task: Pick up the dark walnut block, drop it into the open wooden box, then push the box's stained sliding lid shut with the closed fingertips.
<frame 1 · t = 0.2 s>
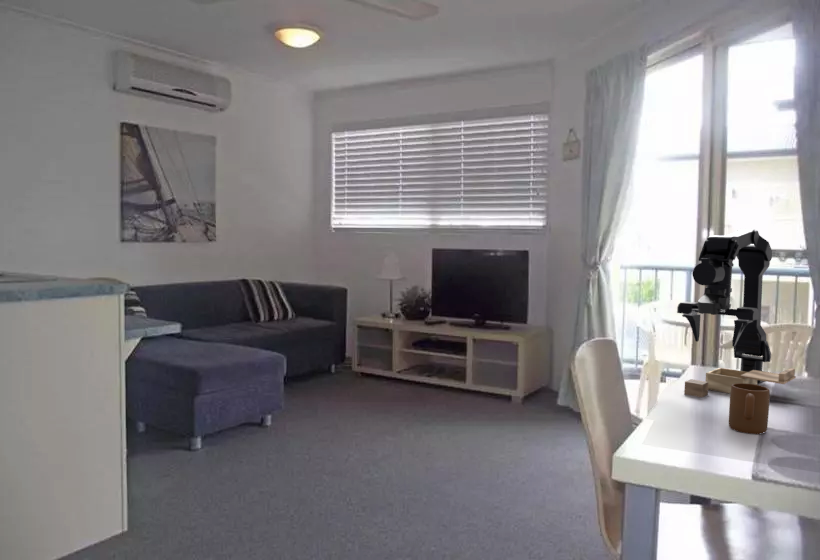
hand: (715, 343, 176), 14 cm above the table, fingers open, 9 cm apart
wooden box: (730, 389, 185), on the table
lid: (768, 373, 178), point 6 cm above the table, slide at 9.0 cm
block: (696, 394, 178), on the table
mug: (747, 433, 144), on the table
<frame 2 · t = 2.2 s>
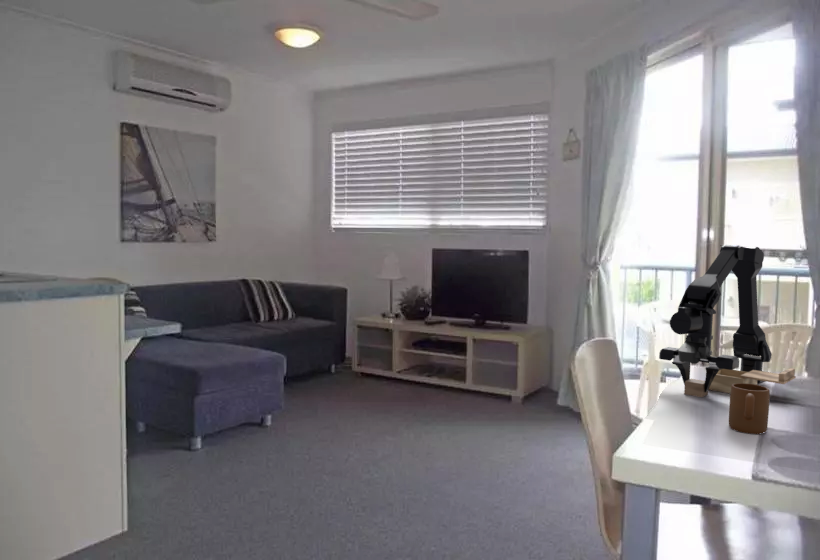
hand: (696, 390, 178), 1 cm above the table, fingers closed on block, 4 cm apart
block: (696, 394, 178), on the table, touching gripper
everything else where it was.
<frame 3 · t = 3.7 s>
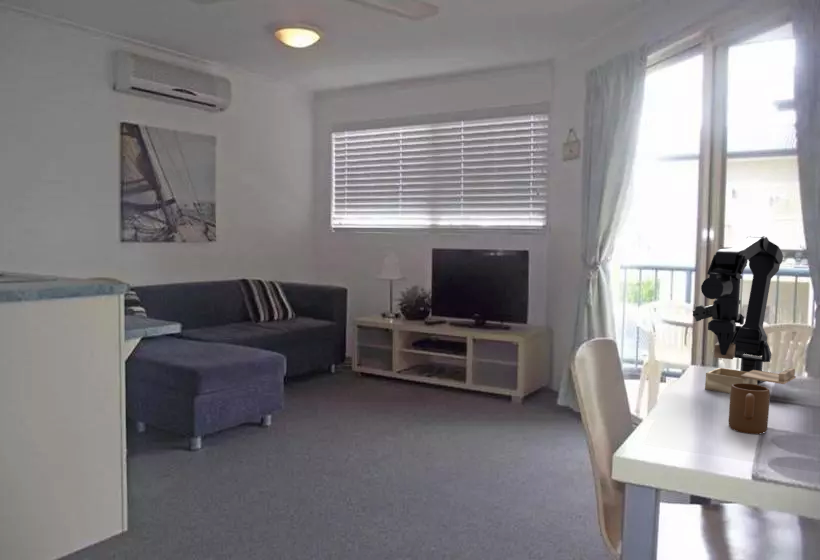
hand: (724, 353, 184), 10 cm above the table, fingers closed on block, 4 cm apart
block: (724, 357, 184), point 9 cm above the table, touching gripper
everything else where it was.
when the fingers open (5 cm above the table, at t = 5.2 s): block drops 3 cm, resting on wooden box.
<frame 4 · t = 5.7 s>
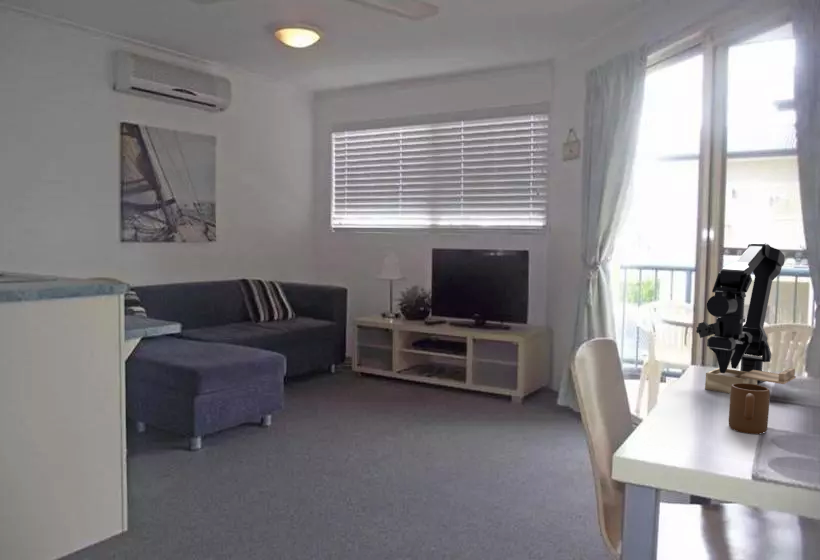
hand: (728, 370, 185), 5 cm above the table, fingers open, 9 cm apart
block: (727, 386, 186), resting on wooden box
everything else where it was.
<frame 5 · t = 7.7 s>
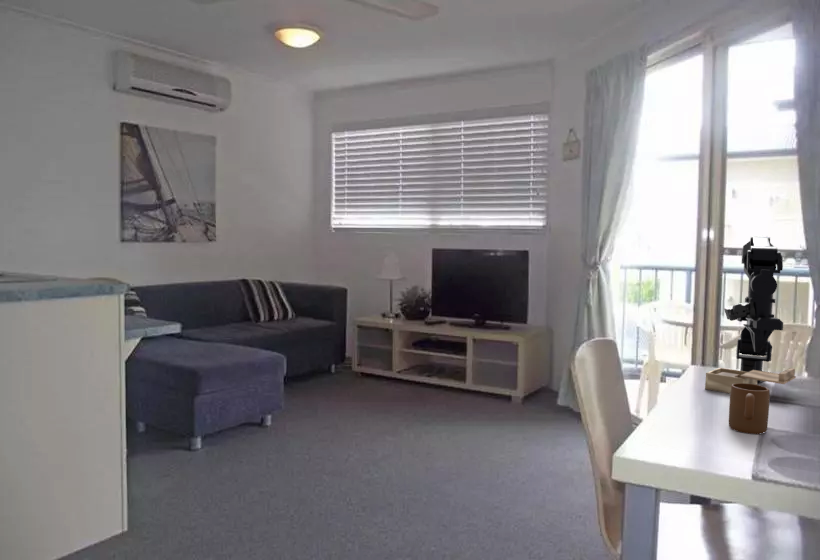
hand: (756, 352, 180), 11 cm above the table, fingers closed
nothing on the table moved.
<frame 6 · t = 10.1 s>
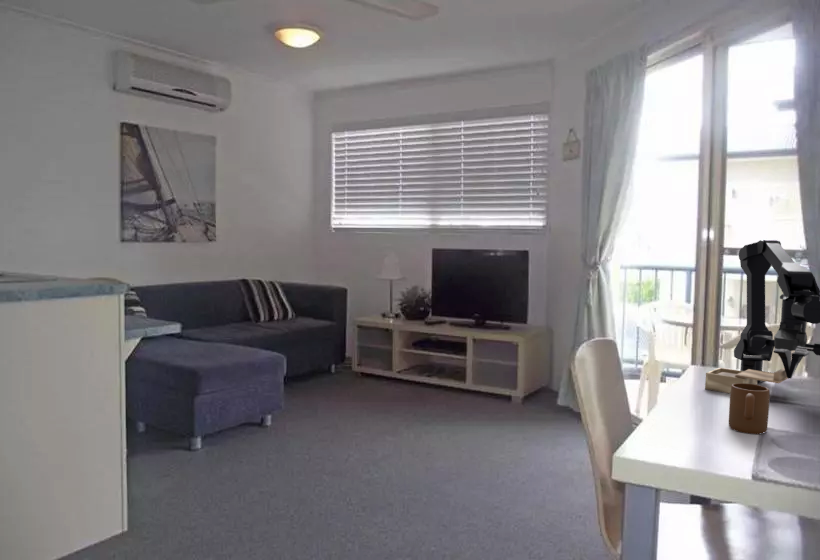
hand: (789, 378, 175), 6 cm above the table, fingers closed
lid: (763, 372, 179), point 6 cm above the table, slide at 7.8 cm, touching gripper
everything else where it was.
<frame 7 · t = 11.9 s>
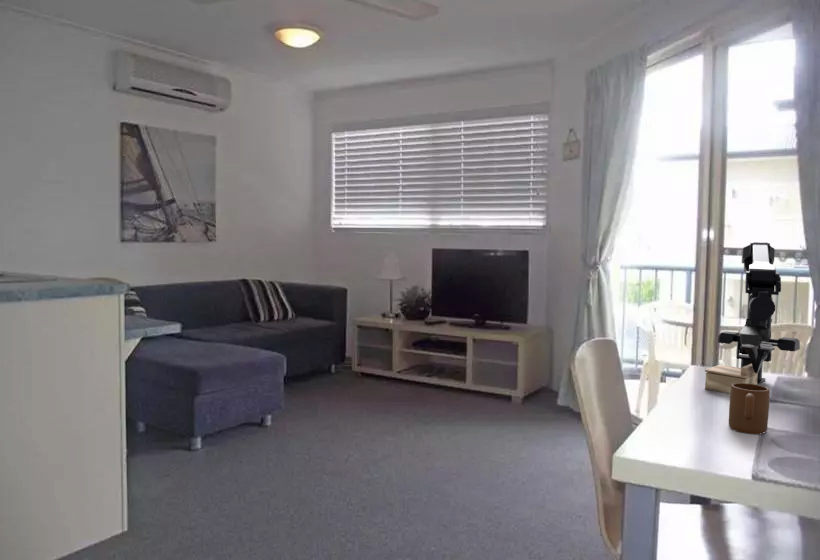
hand: (756, 372, 180), 6 cm above the table, fingers closed
lid: (732, 367, 184), point 6 cm above the table, slide at -0.1 cm, touching gripper
everything else where it was.
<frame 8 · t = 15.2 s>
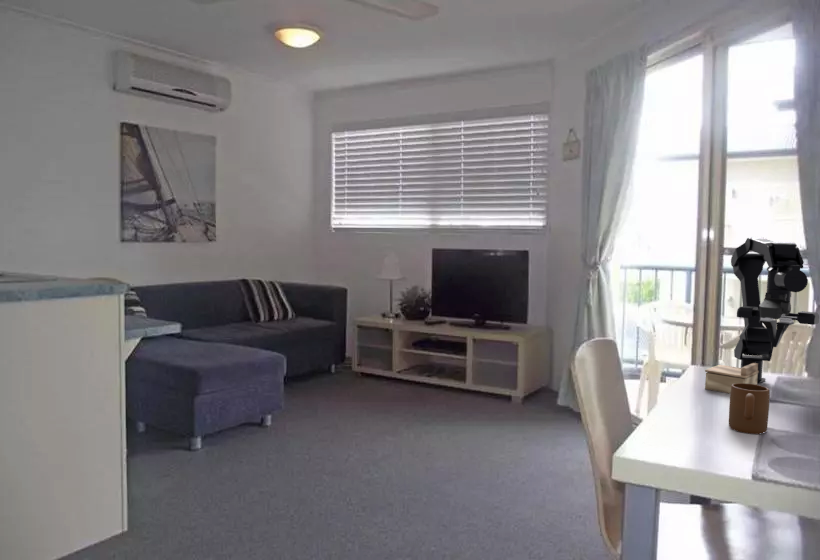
hand: (774, 347, 181), 13 cm above the table, fingers closed
lid: (732, 367, 184), point 6 cm above the table, slide at 0.0 cm
everything else where it was.
at the end: lid slide at 0.0 cm; block inside the target area on the wooden box (1.0 cm from its centre), point 0.5 cm above the wooden box's base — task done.
